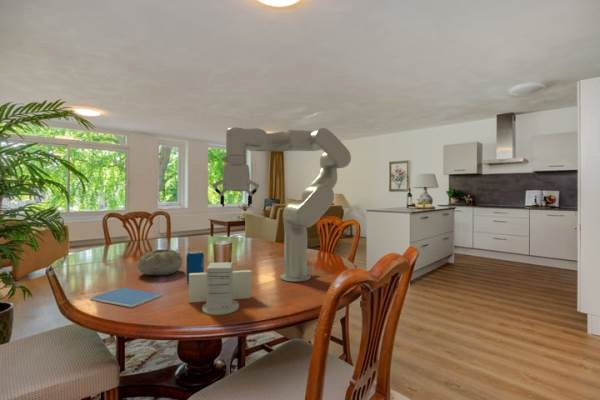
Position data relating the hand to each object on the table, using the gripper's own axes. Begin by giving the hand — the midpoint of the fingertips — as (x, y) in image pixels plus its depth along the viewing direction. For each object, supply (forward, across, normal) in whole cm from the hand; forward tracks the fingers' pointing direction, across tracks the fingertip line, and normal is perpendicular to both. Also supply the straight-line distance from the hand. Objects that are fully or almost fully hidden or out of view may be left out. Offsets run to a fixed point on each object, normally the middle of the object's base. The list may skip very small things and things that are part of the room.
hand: (236, 206), depth 117 cm
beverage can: (+31, -15, +8) cm, 35 cm away
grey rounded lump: (+31, -31, +24) cm, 50 cm away
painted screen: (+30, -6, -14) cm, 34 cm away
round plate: (+30, -6, -22) cm, 38 cm away
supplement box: (+30, -6, -22) cm, 37 cm away
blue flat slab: (+31, -36, -5) cm, 48 cm away
